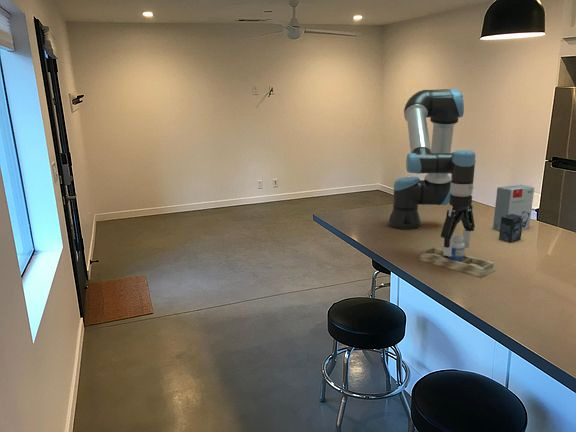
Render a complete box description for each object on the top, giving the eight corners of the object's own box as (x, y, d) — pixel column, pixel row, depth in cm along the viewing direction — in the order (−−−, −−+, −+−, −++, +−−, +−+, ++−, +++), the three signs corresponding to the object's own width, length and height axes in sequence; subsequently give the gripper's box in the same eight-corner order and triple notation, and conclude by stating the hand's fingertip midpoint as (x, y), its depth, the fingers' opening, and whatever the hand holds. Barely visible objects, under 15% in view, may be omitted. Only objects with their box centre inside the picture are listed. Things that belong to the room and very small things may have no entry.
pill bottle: (445, 259, 176) (447, 235, 174) (459, 259, 177) (461, 234, 174) (451, 265, 171) (453, 239, 169) (465, 264, 171) (468, 238, 169)
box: (510, 243, 198) (513, 218, 196) (498, 239, 203) (500, 216, 200) (521, 239, 203) (523, 216, 200) (509, 236, 207) (511, 213, 205)
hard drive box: (505, 233, 212) (509, 189, 207) (492, 228, 219) (496, 187, 214) (530, 228, 218) (534, 186, 213) (516, 224, 225) (520, 184, 220)
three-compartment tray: (418, 259, 180) (419, 252, 179) (433, 253, 186) (433, 246, 186) (481, 277, 162) (482, 269, 161) (495, 270, 168) (495, 262, 167)
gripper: (452, 201, 157) (448, 261, 162) (487, 190, 173) (482, 246, 178) (432, 198, 162) (429, 256, 168) (468, 188, 178) (464, 241, 183)
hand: (456, 251), depth 173 cm, fingers open, 12 cm apart
